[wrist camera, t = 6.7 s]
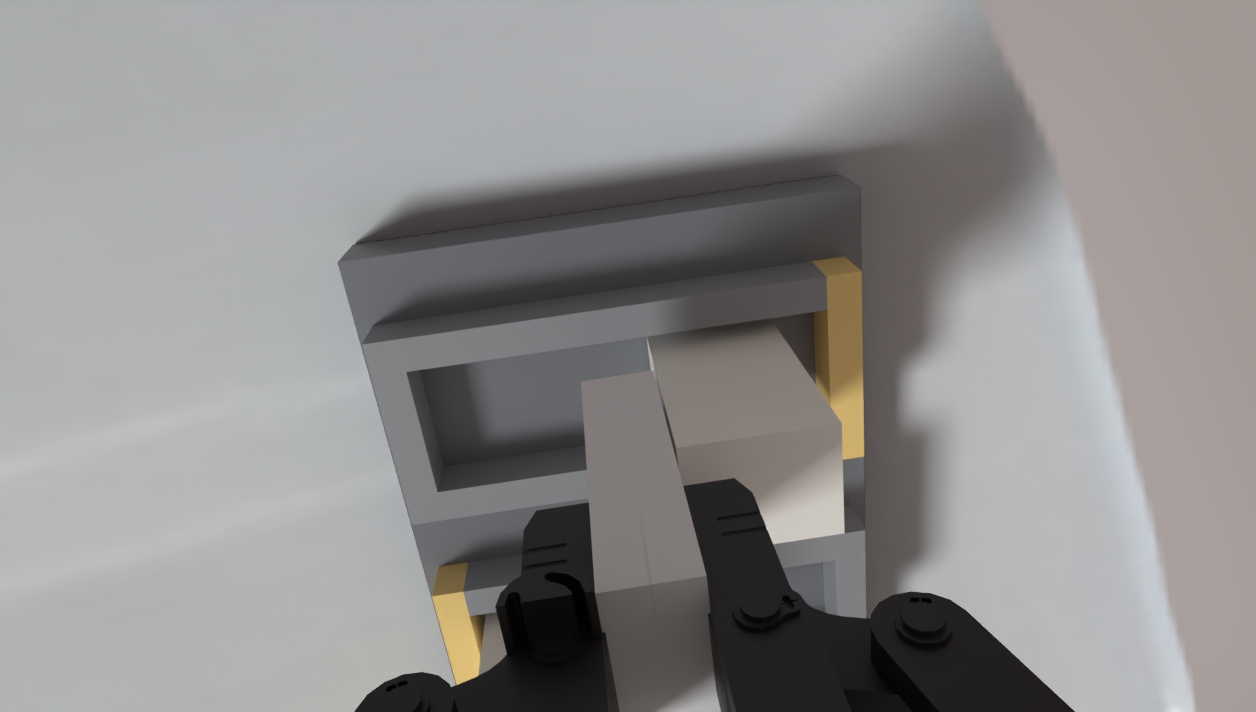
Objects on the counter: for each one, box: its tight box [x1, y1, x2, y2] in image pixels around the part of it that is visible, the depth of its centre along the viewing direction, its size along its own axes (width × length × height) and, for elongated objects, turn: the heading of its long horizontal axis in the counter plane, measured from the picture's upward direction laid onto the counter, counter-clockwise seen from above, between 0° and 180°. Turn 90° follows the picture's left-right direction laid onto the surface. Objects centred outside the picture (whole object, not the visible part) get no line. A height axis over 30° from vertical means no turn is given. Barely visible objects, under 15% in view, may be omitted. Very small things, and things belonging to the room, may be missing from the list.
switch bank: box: [338, 175, 866, 685], centre depth 23 cm, size 22×12×3 cm, turn 7°
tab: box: [647, 318, 845, 544], centre depth 18 cm, size 2×3×6 cm
